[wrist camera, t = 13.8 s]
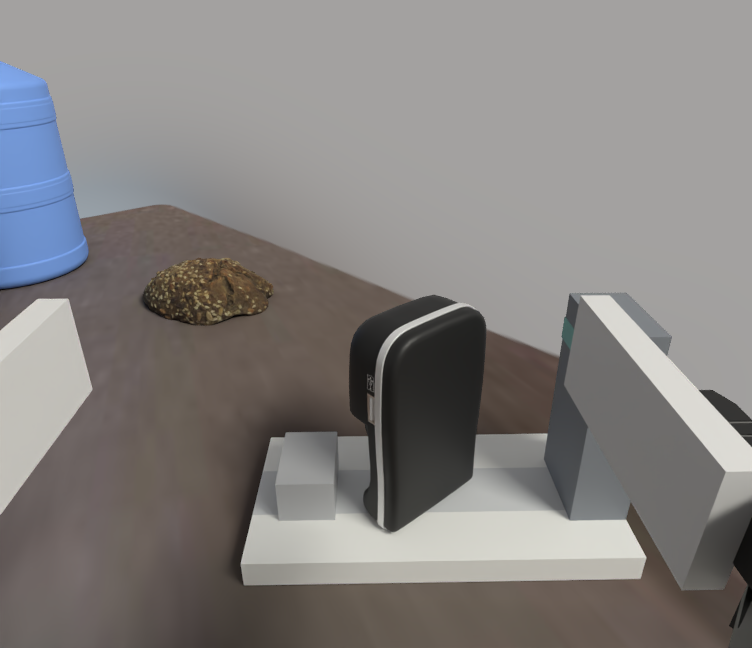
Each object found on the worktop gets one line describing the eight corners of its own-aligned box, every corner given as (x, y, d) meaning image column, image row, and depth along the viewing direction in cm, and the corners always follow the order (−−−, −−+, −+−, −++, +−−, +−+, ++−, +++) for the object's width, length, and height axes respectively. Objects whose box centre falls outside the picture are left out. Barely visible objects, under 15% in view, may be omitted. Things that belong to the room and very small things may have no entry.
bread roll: (132, 301, 61) (123, 257, 59) (233, 272, 69) (228, 232, 67) (190, 342, 53) (181, 292, 51) (298, 303, 60) (294, 258, 58)
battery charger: (430, 448, 36) (437, 278, 31) (477, 479, 33) (494, 300, 28) (343, 502, 32) (335, 316, 27) (389, 542, 29) (390, 345, 24)
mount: (273, 455, 38) (253, 279, 32) (576, 451, 38) (609, 275, 32) (243, 585, 29) (210, 371, 23) (641, 578, 29) (702, 365, 23)
